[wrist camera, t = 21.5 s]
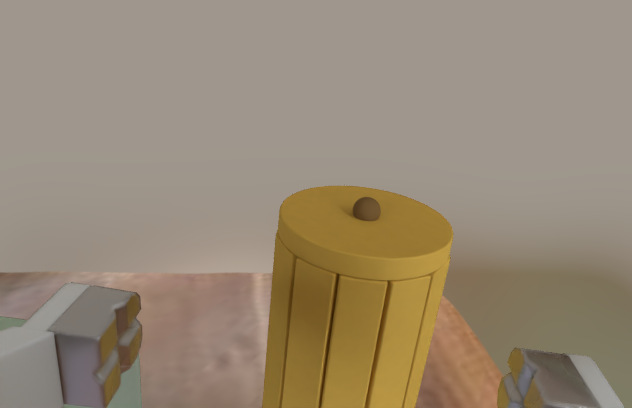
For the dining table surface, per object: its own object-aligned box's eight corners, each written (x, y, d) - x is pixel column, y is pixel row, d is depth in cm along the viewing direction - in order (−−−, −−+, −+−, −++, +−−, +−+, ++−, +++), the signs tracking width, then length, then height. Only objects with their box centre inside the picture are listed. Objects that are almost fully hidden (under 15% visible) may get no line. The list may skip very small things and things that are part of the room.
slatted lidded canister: (411, 501, 18) (477, 249, 14) (248, 477, 18) (266, 222, 14) (394, 346, 26) (432, 160, 22) (283, 330, 26) (300, 144, 22)
